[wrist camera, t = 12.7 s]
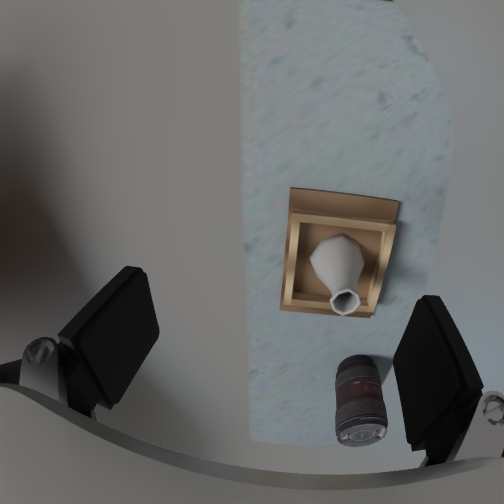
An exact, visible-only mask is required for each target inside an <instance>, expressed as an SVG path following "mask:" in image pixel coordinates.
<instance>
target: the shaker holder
mask: <svg viewBox="0 0 504 504" xmlns="http://www.w3.org/2000/svg"><path fill="white" fill-rule="evenodd" d="M398 205H399V202H398V201H397V200H391V199H384V198H378V197H371V196H364V195H356V194H349V193H341V192H332V191H324V190H314V189H304V188H294V187H291V188H290V200H289V213H288V226H287V238H286V249H285V261H284V271H283V282H282V291H281V301H280V310H285V311H295V312H304V313H314V314H325V315H337V316H342V315H340V314H338V313H336V312H335V311H333V309H332V306H331V303H330V298H331V297H332V293H331V291H330V290H329V289H328V287H327V286H326V285H325V284H324V283H323V282H322V281H321V280H320V279H319V278H318V277H317V276H316V274H315V272H314V269H313V267H312V264H311V262H310V259H309V257H310V255H311V254H312V253H313V251H314V250H315V248H316V247H317V245H318V244H319V243H320V241H321V240H324V239H327V238H330V237H332V236H335V235H338V234H341V233H342V234H344V235H345V236H347V237H348V238H350V239H352V240H353V241H355V242H356V243H358V244H359V245H360V248H361V252H362V255H363V258H364V262H365V264H364V267H363V269H362V271H361V274H360V276H359V279H358V282H357V286H356V292H358V294H359V297H360V300H361V305H360V306H359V307H358V308H357V309H356V311H355V312H353V313H350V314H347V315H344V316H349V317H363V318H370V316H371V313H372V312H373V313H374V310H375V306H376V303H377V300H378V297H379V293H380V290H381V287H382V283H383V279H384V276H385V272H386V268H387V265H388V261H389V257H390V253H391V248H392V244H393V240H394V235H395V231H396V226H397V225H396V224H395V221H396V216H397V210H398Z"/></svg>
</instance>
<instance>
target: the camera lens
mask: <svg viewBox="0 0 504 504" xmlns="http://www.w3.org/2000/svg"><path fill="white" fill-rule="evenodd" d="M335 390H336V408H337V410H336V416H335V421H336V436H337V440H338V442H339V443H340V444H342V445H345V446H349V447H361V446H366V445H370V444H373V443H375V442H378V441H379V440H381V439H382V438H384V437H385V435H386V433H387V426H388V420H387V414H386V407H385V403H384V401H383V395H382V388H381V380H380V376H379V372H378V369H377V367H376V365H375V364H374V362H373V360H372V359H371V358H370V357H368V356H364V355H355V356H351V357H349V358H347V359H345V360H343V361H342V362H341V363H340V365H339V367H338V372H337V374H336V382H335Z"/></svg>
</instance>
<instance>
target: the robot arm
mask: <svg viewBox="0 0 504 504" xmlns="http://www.w3.org/2000/svg"><path fill="white" fill-rule="evenodd" d="M58 337H59V339H60V342H59V343H58V344H57V342H56V341H55V339H53V338H51V337H40V338H37V339H35V340H33V341H32V342H30V344H28V345H27V347H26V348H25V350H24V353H23V357H22V359H20V360H17V361H13V362H9V363H5V364H1V365H0V504H504V395H503V394H501V393H499V392H497V391H489V392H486V393H485V394H484V395H483V394H482V391H481V390H482V388H483V387H484V386H483V383H482V381H481V378H480V376H479V373H478V371H477V369H476V366H475V364H474V362H473V360H472V357H471V355H470V353H469V351H468V349H467V347H466V345H465V343H464V340H463V338H462V336H461V334H460V333H459V331H458V329H457V327H456V325H455V323H454V321H453V319H452V318H451V315H450V314H449V312H448V310H447V309H446V306H445V305H444V303H443V301H442V300H441V298H440V297H439V296H434V295H424V296H423V297H422V298H421V299H418V300H417V302H416V304H415V307H414V310H413V312H412V315H411V317H410V320H409V322H408V325H407V327H406V330H405V332H404V334H403V337H402V339H401V341H400V343H399V346H398V348H397V350H396V352H395V354H394V358H393V367H394V371H395V376H396V380H397V385H398V390H399V395H400V401H401V406H402V412H403V418H404V425H405V431H406V438H407V442H408V443H409V444H411V448H412V451H418V450H426V457H425V459H424V460H423V462H422V463H421V465H420V466H419V468H414V469H408V470H399V471H390V472H381V473H369V474H350V475H319V474H318V475H317V474H298V473H285V472H275V471H266V470H258V469H252V468H245V467H240V466H234V465H229V464H224V463H219V462H214V461H210V460H206V459H201V458H198V457H194V456H190V455H186V454H183V453H179V452H176V451H173V450H169V449H166V448H163V447H160V446H157V445H154V444H151V443H148V442H146V441H143V440H140V439H138V438H135V437H132V436H130V435H127V434H125V433H122V432H120V431H117V430H115V429H113V428H111V427H108V426H106V425H104V424H102V423H100V422H98V421H97V417H96V412H95V406H96V404H97V403H98V404H99V405H101V406H103V407H105V408H107V409H110V410H111V409H112V407H113V405H114V404H117V403H118V402H119V401H120V400H121V398H122V396H123V394H124V393H125V391H126V389H127V388H128V386H129V384H130V383H131V381H132V379H133V378H134V376H135V374H136V373H137V371H138V369H139V368H140V366H141V364H142V363H143V361H144V360H145V358H146V357H147V355H148V353H149V351H150V350H151V348H152V347H153V345H154V344H155V342H156V340H157V339H158V337H159V326H158V322H157V319H156V314H155V310H154V305H153V301H152V297H151V292H150V288H149V283H148V278H147V274H146V273H144V272H143V270H142V269H141V268H139V267H132V266H126V267H124V268H123V269H122V270H121V271H120V272H119V273H118V274H117V275H116V276H115V277H114V278H113V279H111V281H109V282H108V284H106V285H105V286H104V287H103V288H102V289H101V290H100V291H99V292H98V293H97V294H96V295H95V296H94V297H93V298H92V299H91V300H90V301H89V302H88V303H87V304H86V305H85V306H84V307H83V308H82V309H81V311H79V312H78V314H76V316H74V318H73V319H72V320H71V321H70V322H69V323H68V324H67V325H66V326H65V327H64V328H63V329H62V330H61V331H60V333H59V334H58Z"/></svg>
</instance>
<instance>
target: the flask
mask: <svg viewBox="0 0 504 504" xmlns="http://www.w3.org/2000/svg"><path fill="white" fill-rule="evenodd" d="M309 259H310V262H311V264H312V267H313V269H314V272H315V274H316V276H317V277H318V278H319V279H320V280H321V281H322V282H323V283H324V284H325V285H326V286H327V287H328V289H329V290H330V291H331V293H332V297H331V298H330V303H331V306H332V309H333V311H335V312H336V313H338V314H340V315H342V316H344V315H347V314H350V313H353V312H355V311H356V309H357V308H358V307H359V306H360V305H361V300H360V297H359V294H358V292H356V286H357V282H358V279H359V276H360V274H361V271H362V269H363V267H364V264H365V262H364V258H363V255H362V252H361V248H360V245H359V244H358V243H356V242H355V241H353V240H352V239H350V238H348V237H347V236H345V235H344V234H342V233H341V234H338V235H335V236H332V237H330V238H327V239H324V240H321V241H320V243H319V244H318V245H317V247H316V248H315V250H314V251H313V253H312V254H311V255H310V257H309Z"/></svg>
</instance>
